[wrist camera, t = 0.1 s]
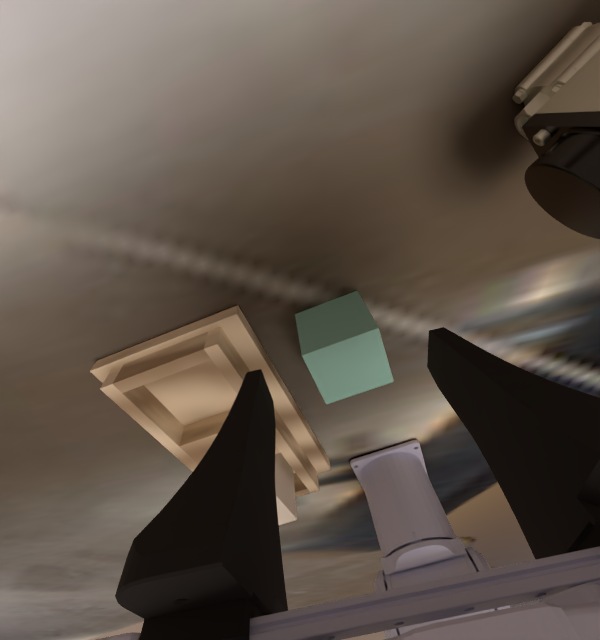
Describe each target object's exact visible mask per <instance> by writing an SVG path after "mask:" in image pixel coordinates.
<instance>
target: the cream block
mask: <svg viewBox="0 0 600 640" xmlns="http://www.w3.org/2000/svg"><path fill="white" fill-rule="evenodd" d="M275 489H276V502H277V514H278V525H281V524H284V523H288V522H291V521H295V520H298V519H297V508H296V497H295V485H294V474H293V469H292V467H291V466H290V465H289V463H288V462H287V461H286V459H285V458H284V456H283V455H282V454H281V453H278V454H275Z"/></svg>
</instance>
